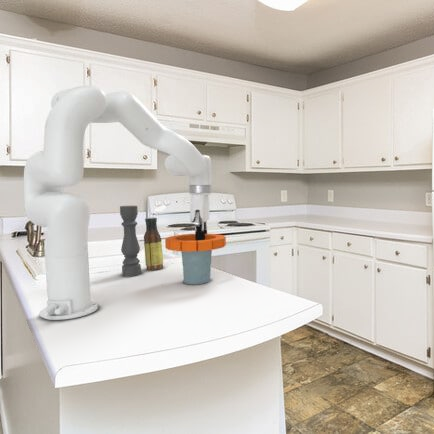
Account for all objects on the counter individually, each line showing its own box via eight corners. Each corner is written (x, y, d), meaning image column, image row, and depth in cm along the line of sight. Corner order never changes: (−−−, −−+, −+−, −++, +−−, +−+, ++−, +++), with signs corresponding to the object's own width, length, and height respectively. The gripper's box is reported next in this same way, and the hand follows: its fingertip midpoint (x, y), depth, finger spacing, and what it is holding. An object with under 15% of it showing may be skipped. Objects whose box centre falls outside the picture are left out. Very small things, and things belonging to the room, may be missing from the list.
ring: (219, 251, 129) (219, 241, 129) (158, 251, 128) (158, 242, 127) (229, 241, 148) (229, 233, 148) (175, 241, 146) (175, 233, 146)
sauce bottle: (165, 266, 160) (164, 216, 158) (159, 270, 154) (157, 218, 152) (149, 266, 161) (147, 216, 158) (142, 270, 154) (139, 218, 152)
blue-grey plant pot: (198, 276, 146) (197, 243, 145) (219, 280, 141) (218, 246, 140) (175, 282, 137) (174, 247, 136) (196, 286, 132) (195, 250, 131)
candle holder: (133, 277, 144) (130, 207, 142) (118, 276, 146) (115, 206, 143) (144, 272, 150) (141, 205, 148) (129, 272, 152) (126, 205, 149)
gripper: (195, 189, 152) (196, 238, 153) (183, 191, 135) (184, 245, 137) (215, 189, 152) (216, 238, 154) (206, 191, 136) (207, 245, 138)
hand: (201, 241), depth 146 cm, fingers closed on ring, 3 cm apart
